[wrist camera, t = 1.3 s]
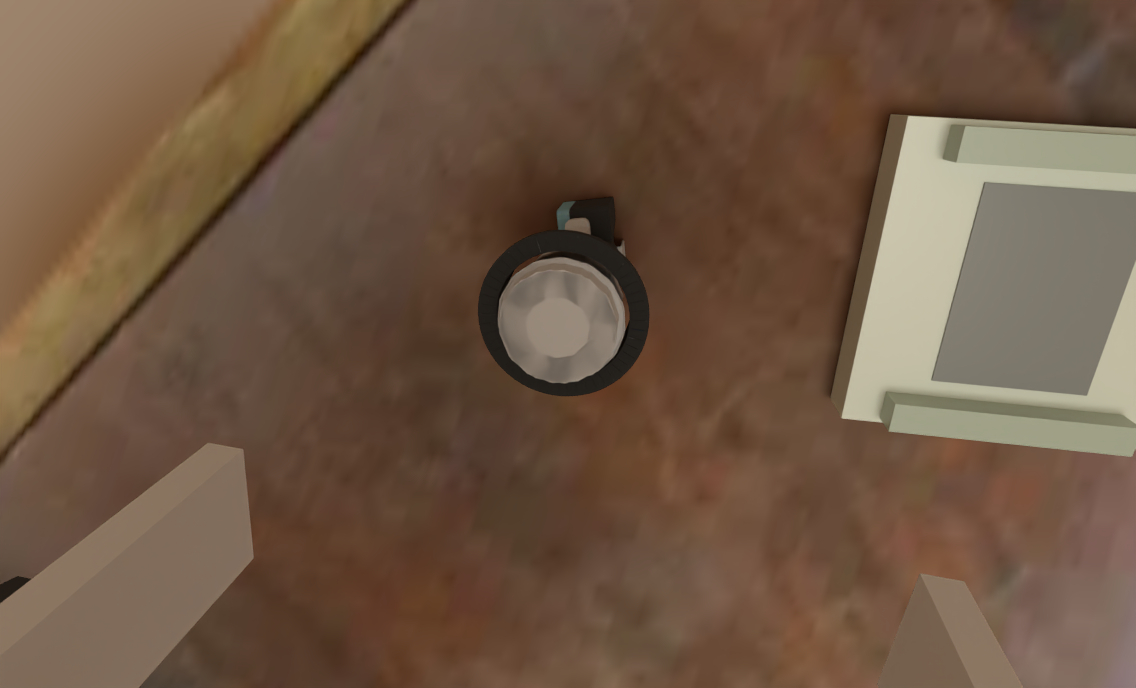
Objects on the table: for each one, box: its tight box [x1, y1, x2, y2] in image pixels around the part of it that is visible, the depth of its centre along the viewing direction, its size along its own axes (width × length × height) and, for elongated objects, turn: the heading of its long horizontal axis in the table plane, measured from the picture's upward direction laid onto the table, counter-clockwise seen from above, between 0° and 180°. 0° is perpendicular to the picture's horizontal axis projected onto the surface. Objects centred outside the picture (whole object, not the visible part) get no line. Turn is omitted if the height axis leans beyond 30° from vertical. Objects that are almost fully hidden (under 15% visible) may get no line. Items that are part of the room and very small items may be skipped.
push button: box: [478, 197, 649, 396], centre depth 25 cm, size 7×5×10 cm
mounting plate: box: [830, 114, 1136, 457], centre depth 26 cm, size 12×12×3 cm
